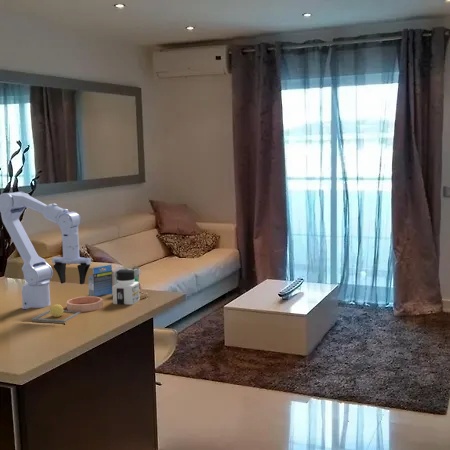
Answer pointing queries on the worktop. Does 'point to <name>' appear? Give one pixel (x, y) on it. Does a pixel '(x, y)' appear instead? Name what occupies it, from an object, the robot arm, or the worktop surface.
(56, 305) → the ball
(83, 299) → the bowl
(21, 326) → the worktop surface
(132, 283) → the container
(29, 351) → the worktop surface
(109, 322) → the worktop surface
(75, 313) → the tray
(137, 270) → the food container
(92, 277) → the label tape box
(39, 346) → the worktop surface
